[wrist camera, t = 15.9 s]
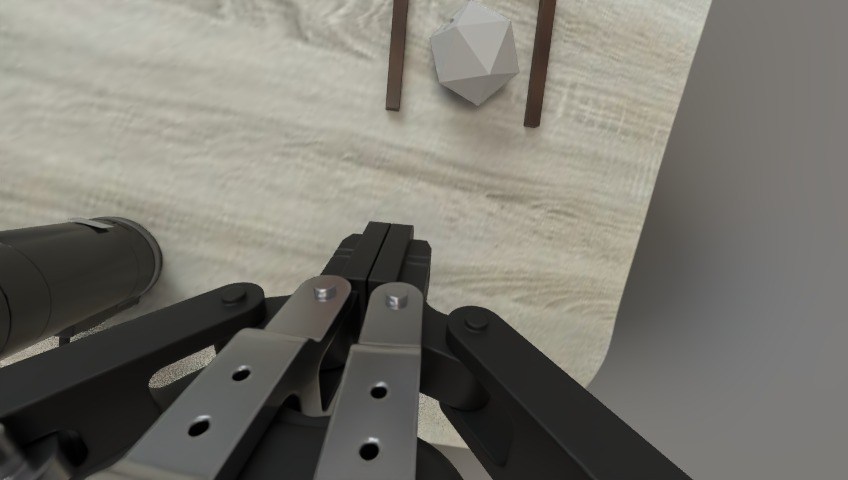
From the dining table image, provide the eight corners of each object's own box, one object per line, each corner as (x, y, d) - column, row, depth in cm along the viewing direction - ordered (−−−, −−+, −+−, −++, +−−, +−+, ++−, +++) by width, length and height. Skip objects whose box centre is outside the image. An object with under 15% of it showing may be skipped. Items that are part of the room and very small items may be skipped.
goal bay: (535, 127, 44) (539, 126, 43) (385, 109, 42) (385, 107, 41) (555, -22, 42) (560, -27, 41) (397, -50, 39) (398, -58, 38)
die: (500, 25, 43) (470, -41, 34) (542, 79, 40) (521, 23, 31) (442, 76, 46) (400, 28, 37) (477, 130, 43) (441, 92, 34)
